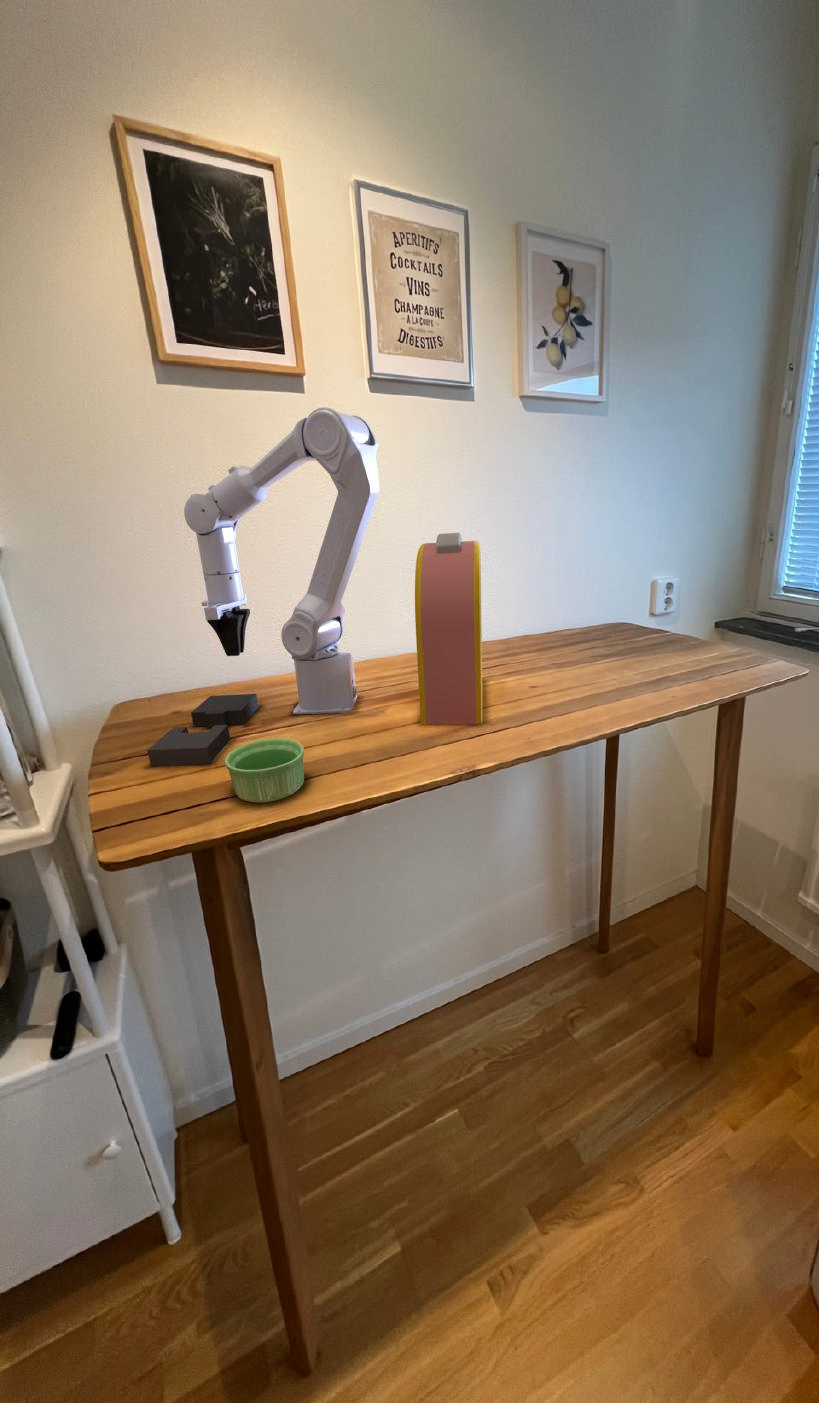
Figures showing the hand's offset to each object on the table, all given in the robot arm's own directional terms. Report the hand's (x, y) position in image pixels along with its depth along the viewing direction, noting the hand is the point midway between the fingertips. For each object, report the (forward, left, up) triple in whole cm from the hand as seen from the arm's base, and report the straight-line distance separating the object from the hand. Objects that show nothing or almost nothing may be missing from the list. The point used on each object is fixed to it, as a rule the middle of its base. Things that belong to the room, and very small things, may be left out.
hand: (235, 654), depth 94 cm
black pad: (0, +8, -8) cm, 12 cm away
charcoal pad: (0, +22, -8) cm, 24 cm away
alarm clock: (-37, +5, -9) cm, 38 cm away
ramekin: (-14, +33, -9) cm, 37 cm away
